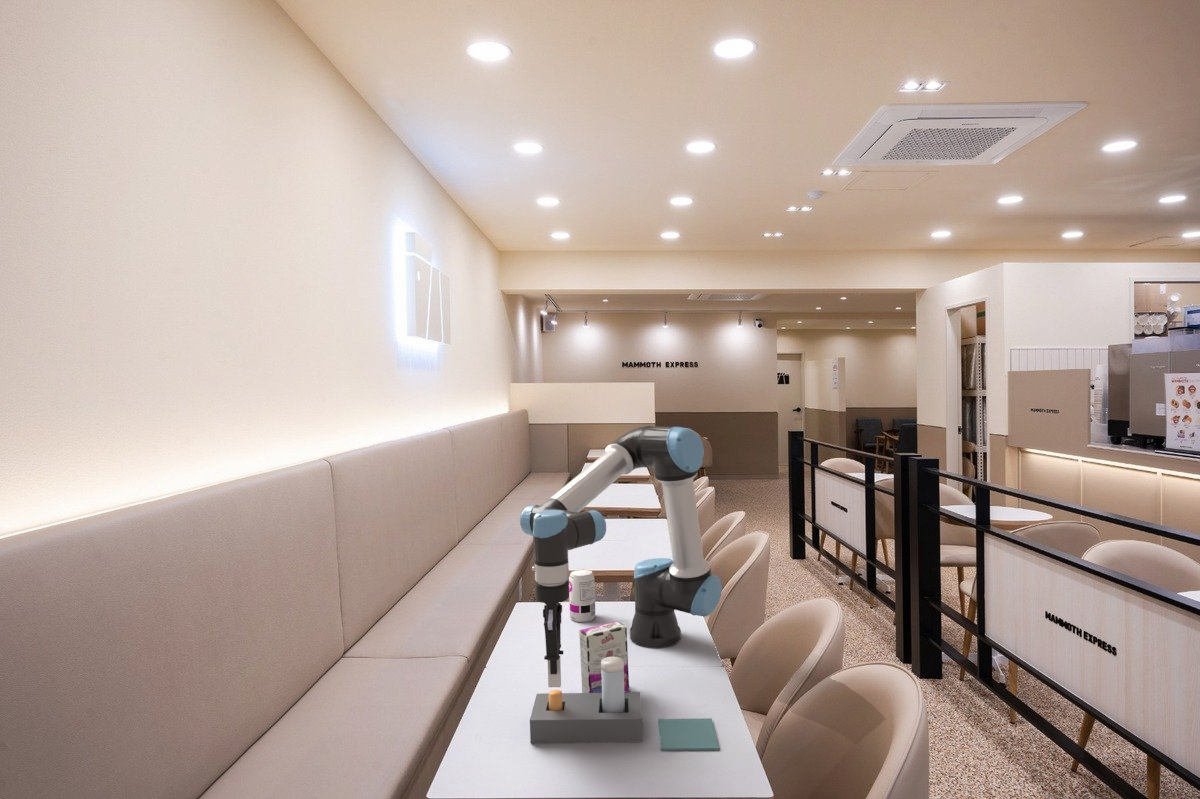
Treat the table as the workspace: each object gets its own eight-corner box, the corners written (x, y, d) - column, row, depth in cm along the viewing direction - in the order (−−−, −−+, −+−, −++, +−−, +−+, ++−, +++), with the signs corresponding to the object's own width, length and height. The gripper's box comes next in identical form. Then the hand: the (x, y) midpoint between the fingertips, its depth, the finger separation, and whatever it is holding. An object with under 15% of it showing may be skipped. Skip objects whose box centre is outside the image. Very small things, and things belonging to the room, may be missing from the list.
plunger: (563, 715, 152) (562, 689, 152) (562, 722, 149) (561, 696, 149) (550, 715, 152) (549, 689, 152) (548, 722, 149) (547, 696, 149)
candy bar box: (619, 683, 171) (618, 620, 171) (629, 691, 167) (628, 626, 166) (580, 694, 166) (578, 628, 165) (589, 702, 162) (587, 635, 161)
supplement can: (567, 622, 214) (566, 576, 214) (573, 613, 222) (571, 568, 222) (592, 623, 213) (591, 576, 212) (597, 614, 221) (596, 568, 220)
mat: (658, 721, 152) (658, 718, 152) (711, 720, 152) (711, 718, 152) (661, 750, 140) (661, 748, 140) (719, 750, 140) (719, 748, 140)
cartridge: (614, 719, 154) (612, 654, 153) (630, 727, 150) (628, 661, 149) (598, 727, 150) (596, 661, 150) (613, 736, 147) (612, 668, 146)
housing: (640, 713, 156) (640, 692, 156) (642, 741, 144) (641, 718, 144) (537, 714, 157) (536, 693, 156) (530, 743, 145) (529, 720, 145)
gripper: (538, 572, 156) (541, 672, 157) (531, 590, 143) (534, 700, 144) (570, 572, 156) (573, 672, 156) (566, 590, 143) (569, 699, 143)
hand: (554, 685), depth 150 cm, fingers closed
